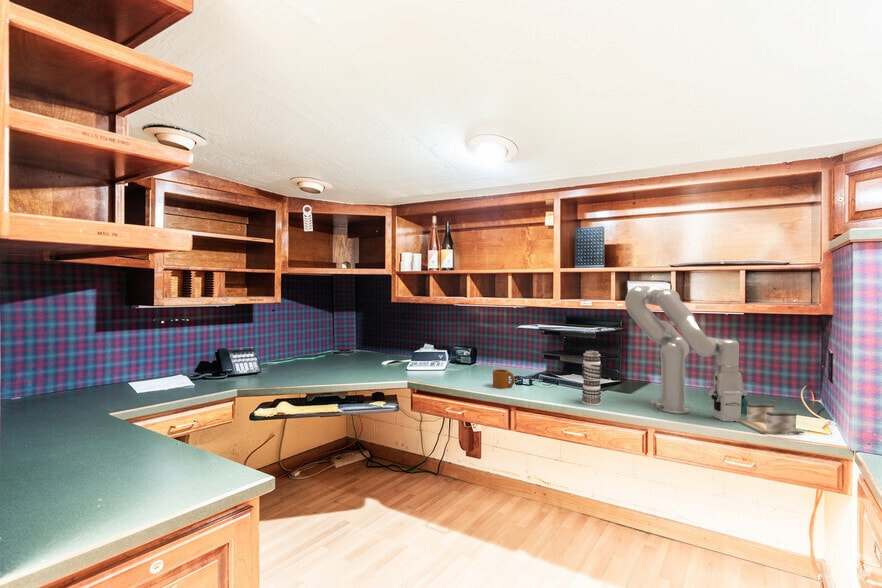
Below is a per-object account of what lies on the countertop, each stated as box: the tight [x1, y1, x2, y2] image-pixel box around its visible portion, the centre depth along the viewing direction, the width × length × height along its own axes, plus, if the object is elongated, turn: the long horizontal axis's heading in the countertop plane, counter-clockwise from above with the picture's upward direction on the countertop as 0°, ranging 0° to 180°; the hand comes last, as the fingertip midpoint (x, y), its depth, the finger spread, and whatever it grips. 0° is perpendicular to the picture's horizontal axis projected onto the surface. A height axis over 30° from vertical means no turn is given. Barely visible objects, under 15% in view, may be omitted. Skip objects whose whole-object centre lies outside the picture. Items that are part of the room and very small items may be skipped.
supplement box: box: [712, 390, 742, 423], centre depth 182 cm, size 7×7×13 cm
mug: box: [492, 369, 516, 390], centre depth 237 cm, size 9×12×9 cm
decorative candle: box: [581, 350, 603, 406], centre depth 206 cm, size 9×9×25 cm
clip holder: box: [738, 403, 805, 435], centre depth 171 cm, size 16×13×8 cm
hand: (727, 410), depth 182 cm, fingers closed on supplement box, 7 cm apart
